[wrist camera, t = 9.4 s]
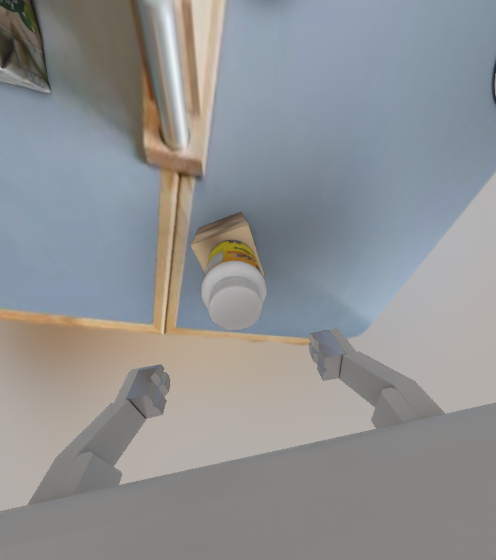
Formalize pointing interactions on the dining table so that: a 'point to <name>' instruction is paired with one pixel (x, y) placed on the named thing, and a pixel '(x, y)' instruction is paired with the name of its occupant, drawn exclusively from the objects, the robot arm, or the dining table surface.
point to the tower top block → (225, 232)
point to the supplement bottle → (233, 285)
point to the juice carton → (21, 47)
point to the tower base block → (220, 223)
